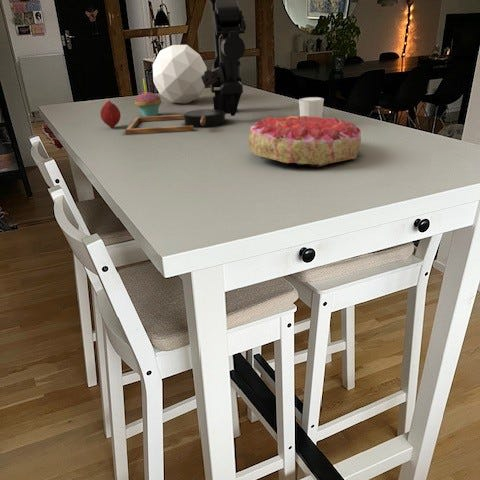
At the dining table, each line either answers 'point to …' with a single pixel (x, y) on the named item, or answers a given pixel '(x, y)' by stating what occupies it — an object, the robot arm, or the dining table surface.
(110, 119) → the onion
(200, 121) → the pan
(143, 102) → the cupcake
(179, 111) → the dining table surface
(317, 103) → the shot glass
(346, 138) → the cake
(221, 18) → the robot arm
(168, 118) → the pan rest
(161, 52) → the geometric orb
